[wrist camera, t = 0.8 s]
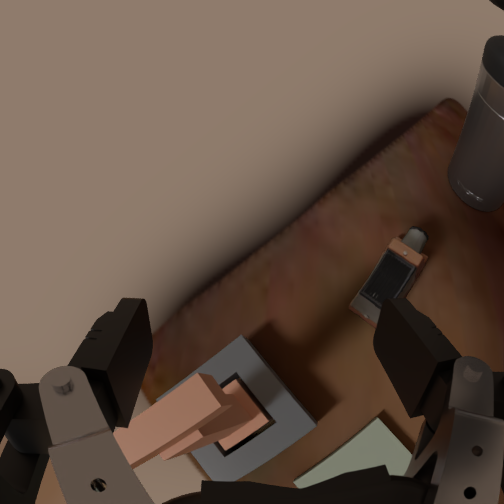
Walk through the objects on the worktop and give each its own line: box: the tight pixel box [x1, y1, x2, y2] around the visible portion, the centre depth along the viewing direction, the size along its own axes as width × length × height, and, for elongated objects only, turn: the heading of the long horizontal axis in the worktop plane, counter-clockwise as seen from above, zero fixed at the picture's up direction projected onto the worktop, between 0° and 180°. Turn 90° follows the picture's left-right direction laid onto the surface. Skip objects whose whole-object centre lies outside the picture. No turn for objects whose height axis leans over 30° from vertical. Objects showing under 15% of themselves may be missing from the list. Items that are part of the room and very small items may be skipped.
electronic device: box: [349, 226, 429, 328], centre depth 27 cm, size 4×10×8 cm, turn 139°
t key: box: [113, 373, 273, 469], centre depth 20 cm, size 8×5×17 cm, turn 128°
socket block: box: [156, 335, 318, 481], centre depth 27 cm, size 11×11×3 cm
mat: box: [293, 417, 412, 488], centre depth 21 cm, size 10×10×1 cm
